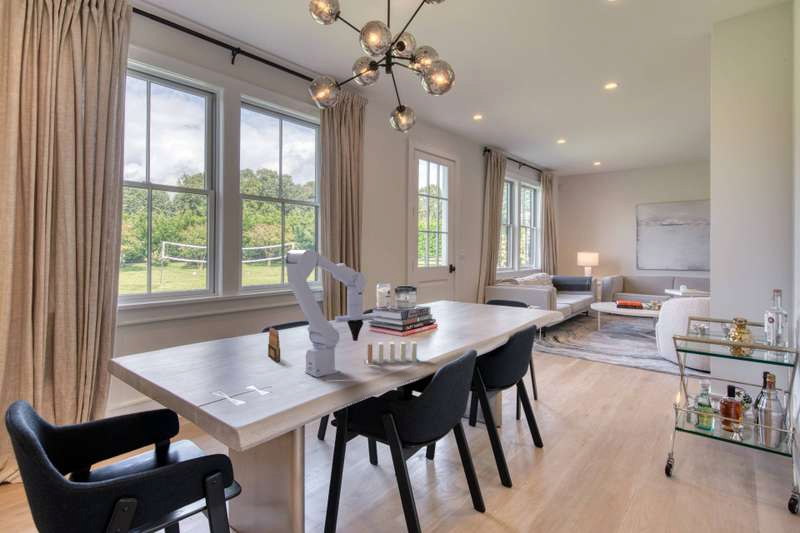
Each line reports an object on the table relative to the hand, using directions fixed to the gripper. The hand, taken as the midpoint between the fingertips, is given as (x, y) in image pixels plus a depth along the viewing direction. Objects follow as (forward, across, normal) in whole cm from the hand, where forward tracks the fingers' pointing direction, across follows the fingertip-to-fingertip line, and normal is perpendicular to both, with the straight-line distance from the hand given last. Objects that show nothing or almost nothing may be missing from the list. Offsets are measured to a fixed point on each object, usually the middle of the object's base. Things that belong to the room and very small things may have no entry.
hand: (355, 340), depth 153 cm
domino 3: (+8, +18, -4) cm, 20 cm away
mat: (+9, +14, -3) cm, 16 cm away
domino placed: (+8, +5, -1) cm, 10 cm away
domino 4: (+8, +22, -4) cm, 24 cm away
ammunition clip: (+9, -28, +16) cm, 34 cm away
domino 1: (+8, +9, -2) cm, 13 cm away
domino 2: (+8, +14, -3) cm, 16 cm away
